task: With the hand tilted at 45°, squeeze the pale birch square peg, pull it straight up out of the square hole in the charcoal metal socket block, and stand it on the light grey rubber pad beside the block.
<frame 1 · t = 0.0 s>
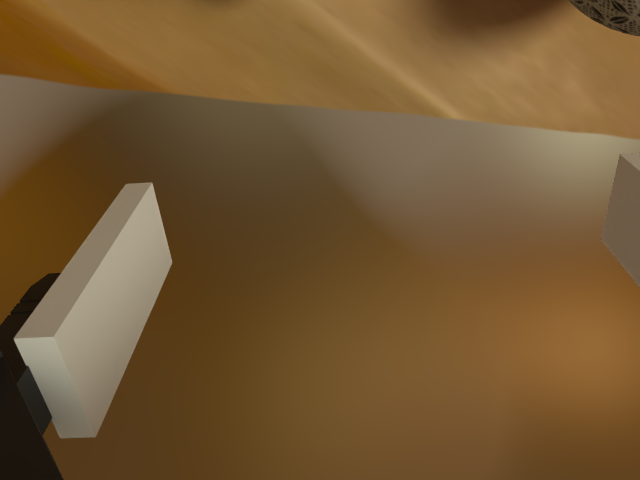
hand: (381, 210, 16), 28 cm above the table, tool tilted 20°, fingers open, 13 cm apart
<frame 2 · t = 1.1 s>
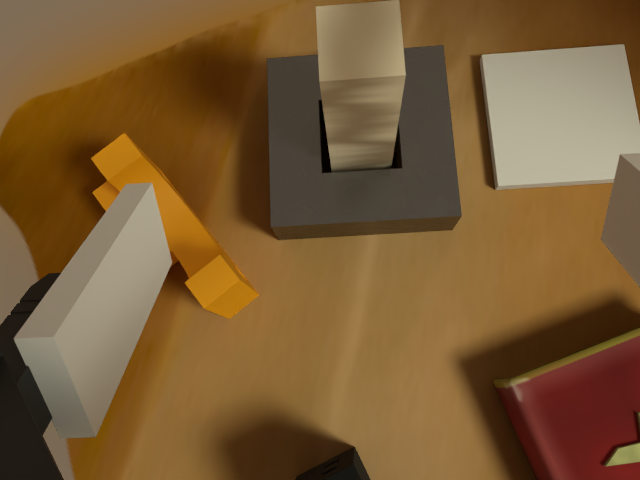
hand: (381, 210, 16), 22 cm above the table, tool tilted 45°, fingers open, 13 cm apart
socket block: (359, 153, 40), on the table
pipe clamp: (184, 250, 39), on the table
birch peg: (359, 108, 33), in the socket block
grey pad: (558, 118, 39), on the table
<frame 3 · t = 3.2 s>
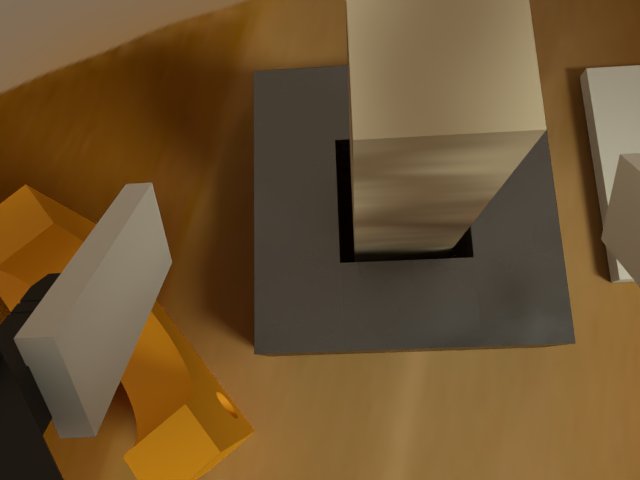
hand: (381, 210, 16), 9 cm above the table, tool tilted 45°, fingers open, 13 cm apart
socket block: (396, 219, 26), on the table
pipe clamp: (139, 355, 25), on the table
birch peg: (410, 165, 19), in the socket block
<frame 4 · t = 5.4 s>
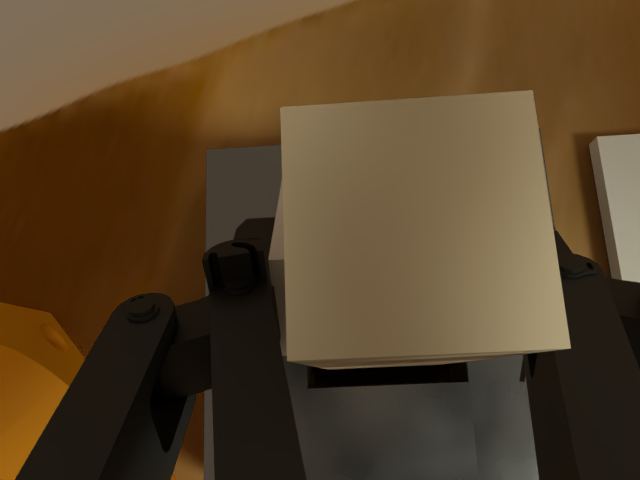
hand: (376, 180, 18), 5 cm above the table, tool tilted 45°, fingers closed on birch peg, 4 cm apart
socket block: (377, 316, 22), on the table
pipe clamp: (96, 465, 22), on the table
birch peg: (388, 289, 15), in the socket block, touching gripper
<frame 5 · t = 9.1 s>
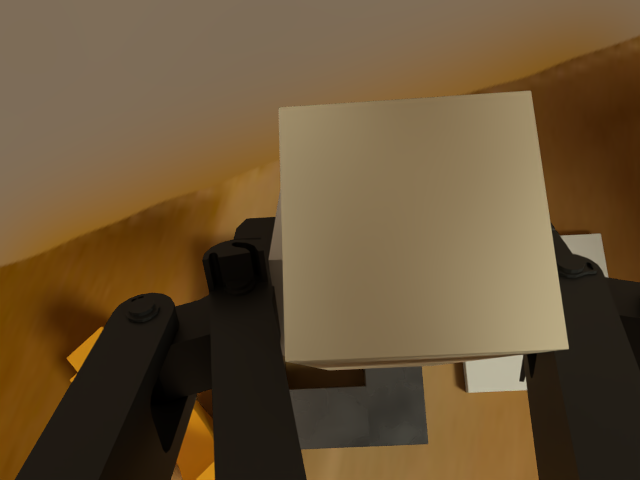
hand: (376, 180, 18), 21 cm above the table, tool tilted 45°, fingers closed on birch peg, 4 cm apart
socket block: (323, 347, 37), on the table
pipe clamp: (173, 423, 37), on the table
birch peg: (387, 289, 15), point 23 cm above the table, touching gripper
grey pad: (532, 312, 37), on the table
when the fingers open (7 cm above the table, at t = 13.1 s): birch peg drops 1 cm, resting on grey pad.
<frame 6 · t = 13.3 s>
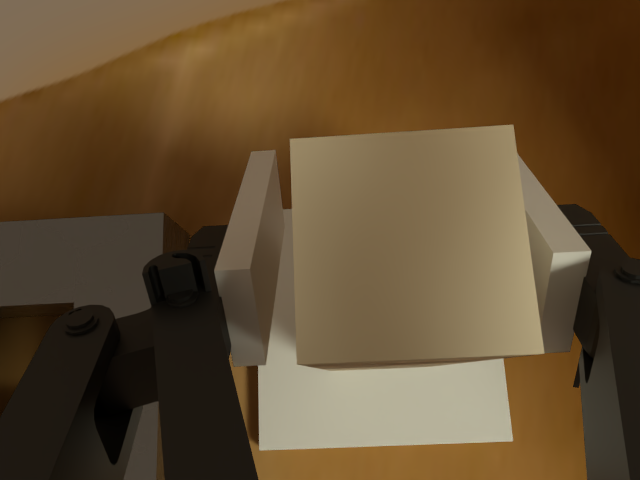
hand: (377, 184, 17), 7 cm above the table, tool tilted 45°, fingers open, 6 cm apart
socket block: (51, 375, 24), on the table
birch peg: (386, 296, 16), on the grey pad, point 8 cm above the table
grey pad: (375, 320, 24), on the table
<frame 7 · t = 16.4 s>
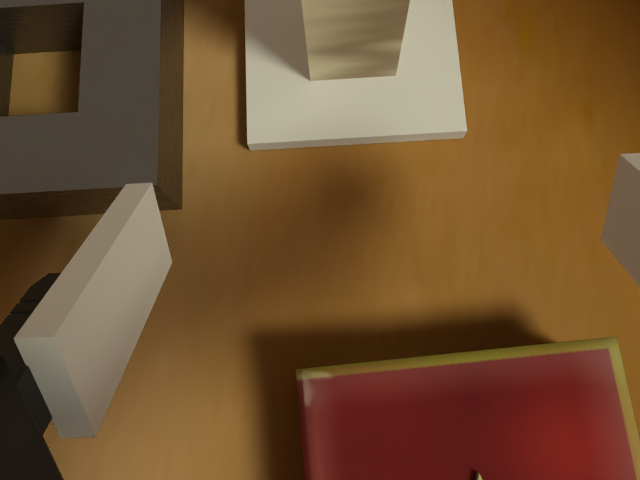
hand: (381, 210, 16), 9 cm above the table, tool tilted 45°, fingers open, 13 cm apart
socket block: (61, 98, 27), on the table
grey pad: (349, 48, 27), on the table
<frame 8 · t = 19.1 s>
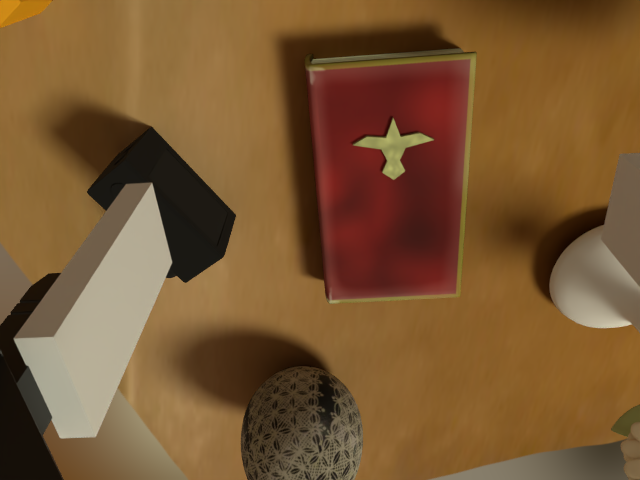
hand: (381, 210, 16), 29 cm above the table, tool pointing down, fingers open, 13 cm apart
black rectangular block: (173, 188, 48), on the table
hardcover book: (386, 173, 47), on the table
decorative egg: (305, 380, 59), on the table
flower in vase: (596, 267, 51), on the table
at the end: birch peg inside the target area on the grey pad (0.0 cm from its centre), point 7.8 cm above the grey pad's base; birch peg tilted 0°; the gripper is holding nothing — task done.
